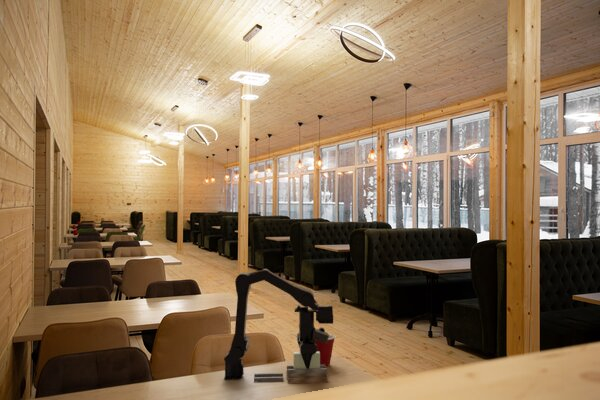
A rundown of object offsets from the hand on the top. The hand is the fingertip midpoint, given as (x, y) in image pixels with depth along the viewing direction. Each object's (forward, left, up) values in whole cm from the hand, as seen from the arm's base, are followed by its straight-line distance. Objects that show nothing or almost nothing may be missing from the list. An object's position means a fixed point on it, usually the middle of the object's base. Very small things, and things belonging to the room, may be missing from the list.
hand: (306, 364), depth 173 cm
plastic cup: (+8, +15, -5) cm, 18 cm away
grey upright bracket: (-14, 0, -5) cm, 15 cm away
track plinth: (0, 0, -5) cm, 5 cm away
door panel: (0, 0, -4) cm, 4 cm away
